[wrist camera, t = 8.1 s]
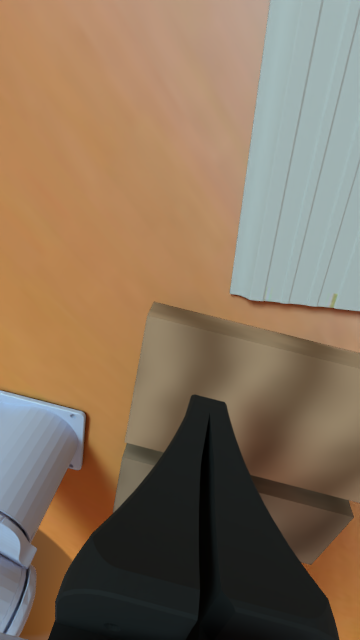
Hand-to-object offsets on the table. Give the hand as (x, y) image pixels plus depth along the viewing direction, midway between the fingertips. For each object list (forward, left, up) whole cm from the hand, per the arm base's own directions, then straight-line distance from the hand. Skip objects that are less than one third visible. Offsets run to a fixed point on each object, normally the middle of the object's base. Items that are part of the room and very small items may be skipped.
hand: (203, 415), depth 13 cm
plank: (+6, -7, -10) cm, 13 cm away
